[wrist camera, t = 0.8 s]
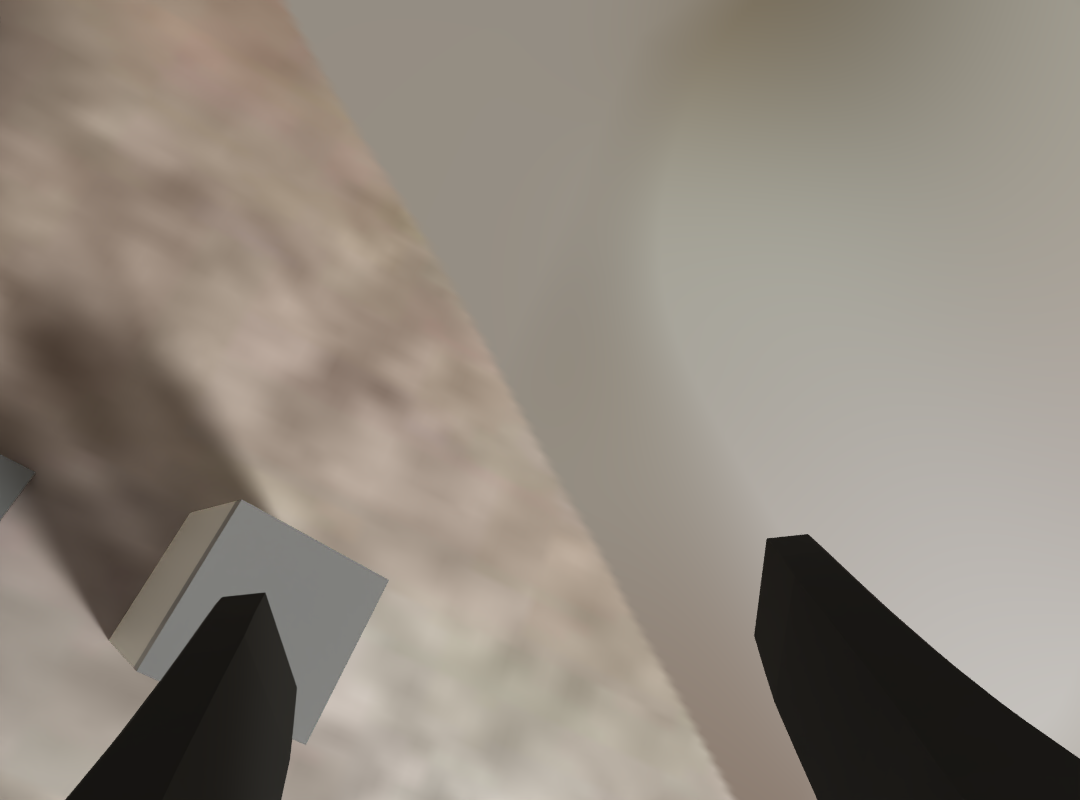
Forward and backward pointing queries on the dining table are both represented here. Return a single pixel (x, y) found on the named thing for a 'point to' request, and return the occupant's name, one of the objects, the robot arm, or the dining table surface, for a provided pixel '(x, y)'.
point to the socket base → (12, 482)
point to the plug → (246, 568)
